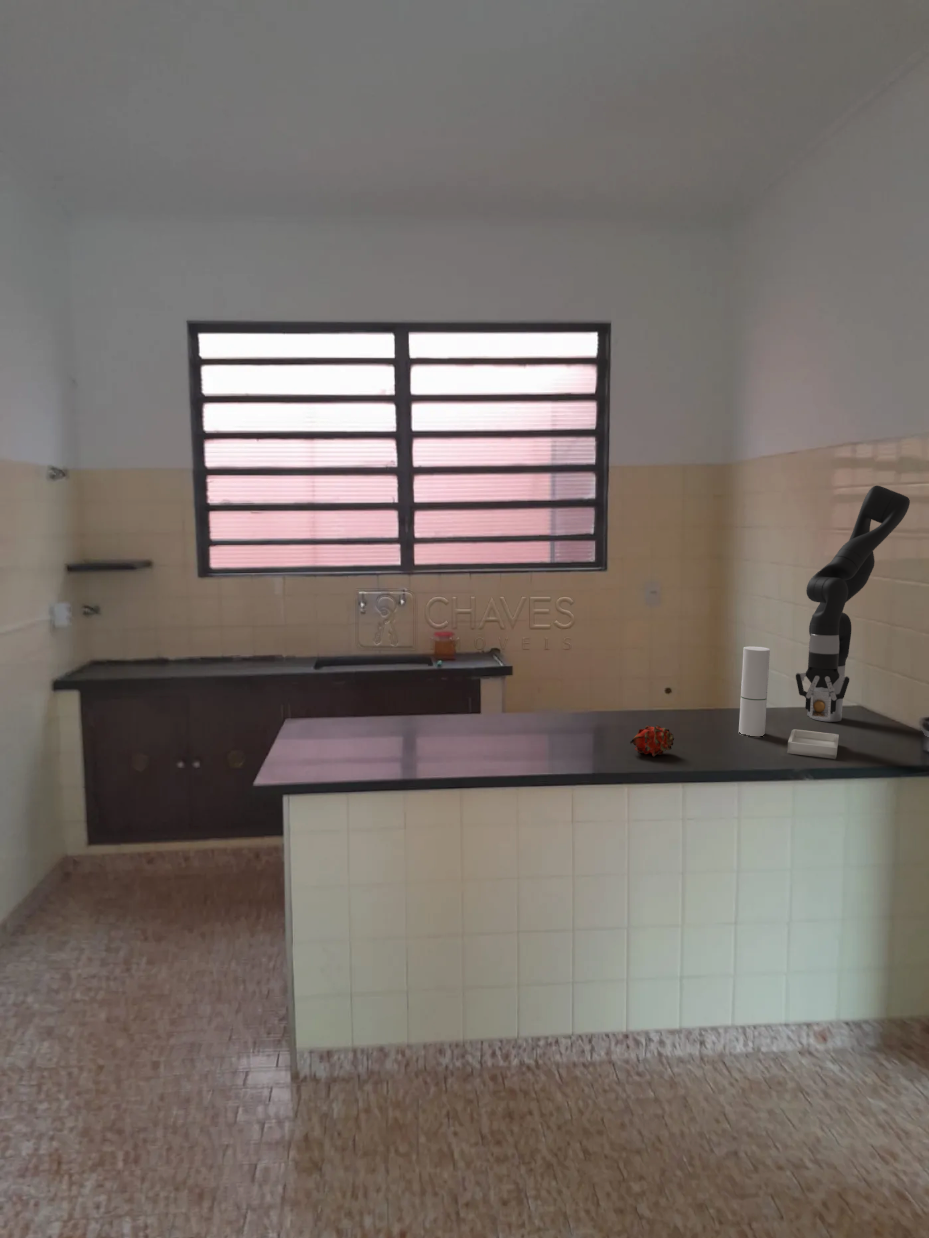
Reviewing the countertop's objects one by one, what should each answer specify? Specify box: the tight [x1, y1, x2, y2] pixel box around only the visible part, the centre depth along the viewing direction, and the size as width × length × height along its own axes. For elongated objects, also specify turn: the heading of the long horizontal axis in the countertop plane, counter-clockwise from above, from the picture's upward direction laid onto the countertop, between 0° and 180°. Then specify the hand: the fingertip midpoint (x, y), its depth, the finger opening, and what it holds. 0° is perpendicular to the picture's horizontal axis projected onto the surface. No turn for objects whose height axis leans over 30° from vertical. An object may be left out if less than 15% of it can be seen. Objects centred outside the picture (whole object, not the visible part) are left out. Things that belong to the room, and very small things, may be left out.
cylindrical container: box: [738, 645, 771, 737], centre depth 248 cm, size 7×7×25 cm
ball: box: [813, 701, 825, 712], centre depth 237 cm, size 3×3×3 cm
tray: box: [786, 728, 840, 760], centre depth 234 cm, size 15×12×3 cm
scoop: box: [809, 691, 831, 719], centre depth 235 cm, size 8×5×6 cm, turn 157°
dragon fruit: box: [629, 724, 675, 757], centre depth 227 cm, size 8×8×12 cm
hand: (820, 712), depth 236 cm, fingers closed on scoop, 5 cm apart
